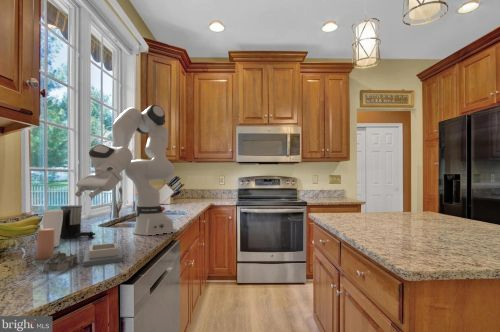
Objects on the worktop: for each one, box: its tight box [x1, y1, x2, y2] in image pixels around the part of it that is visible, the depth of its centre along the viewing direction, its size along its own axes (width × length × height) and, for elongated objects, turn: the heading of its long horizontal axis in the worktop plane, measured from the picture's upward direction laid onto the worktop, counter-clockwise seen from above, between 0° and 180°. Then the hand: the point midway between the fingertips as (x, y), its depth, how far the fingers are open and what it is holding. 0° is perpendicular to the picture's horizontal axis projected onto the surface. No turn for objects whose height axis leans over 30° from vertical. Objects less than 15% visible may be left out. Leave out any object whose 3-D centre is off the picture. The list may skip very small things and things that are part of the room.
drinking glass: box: [42, 209, 63, 248], centre depth 112 cm, size 7×7×15 cm
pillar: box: [35, 228, 55, 260], centre depth 98 cm, size 5×5×10 cm
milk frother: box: [60, 204, 96, 239], centre depth 130 cm, size 14×16×15 cm
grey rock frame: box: [41, 250, 79, 273], centre depth 89 cm, size 11×8×4 cm
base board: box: [82, 242, 124, 267], centre depth 99 cm, size 12×16×4 cm
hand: (83, 196), depth 112 cm, fingers open, 8 cm apart
